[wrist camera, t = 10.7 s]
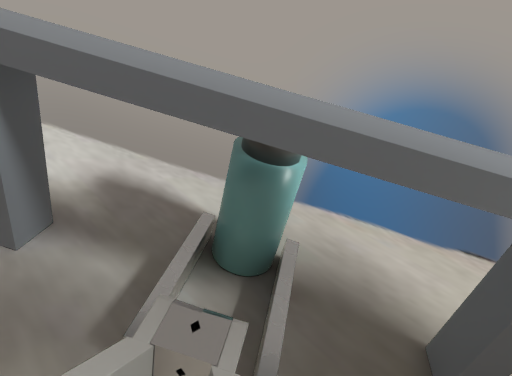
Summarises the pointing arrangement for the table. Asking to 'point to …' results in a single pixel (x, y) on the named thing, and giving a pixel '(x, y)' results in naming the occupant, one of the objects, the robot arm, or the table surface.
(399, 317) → the table surface
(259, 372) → the guide rails
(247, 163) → the teal water bottle
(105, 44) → the arch
